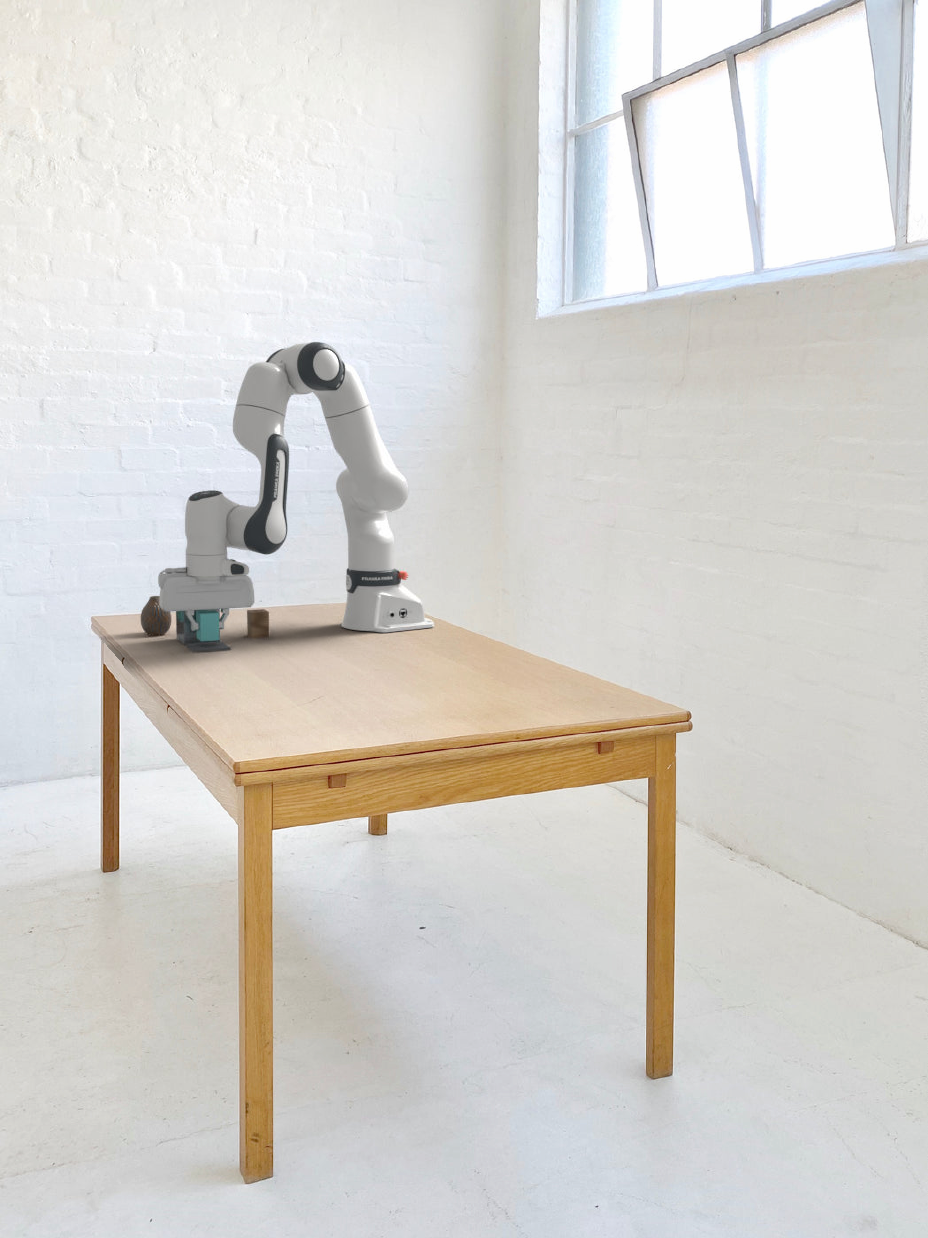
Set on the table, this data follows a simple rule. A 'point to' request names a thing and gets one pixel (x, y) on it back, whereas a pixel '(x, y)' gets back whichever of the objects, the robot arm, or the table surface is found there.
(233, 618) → the table surface
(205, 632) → the teal block
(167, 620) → the vase
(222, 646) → the pad
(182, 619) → the block
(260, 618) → the walnut block
